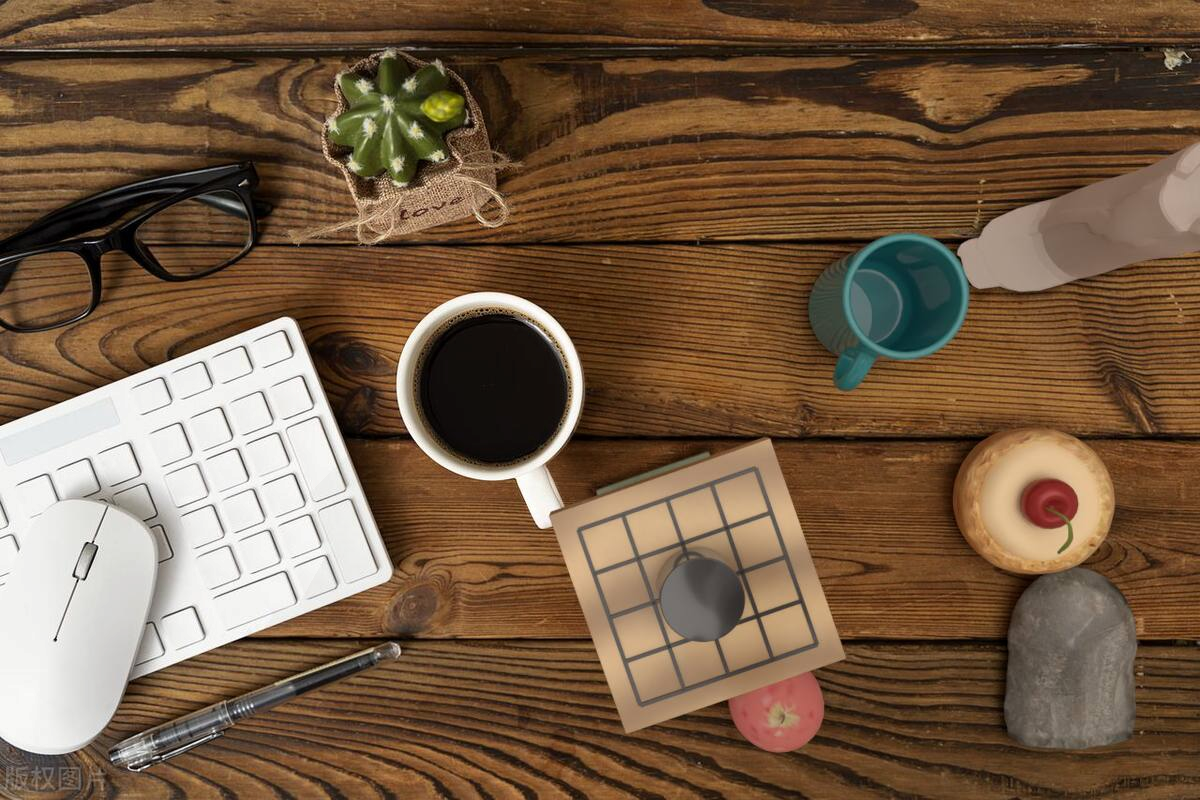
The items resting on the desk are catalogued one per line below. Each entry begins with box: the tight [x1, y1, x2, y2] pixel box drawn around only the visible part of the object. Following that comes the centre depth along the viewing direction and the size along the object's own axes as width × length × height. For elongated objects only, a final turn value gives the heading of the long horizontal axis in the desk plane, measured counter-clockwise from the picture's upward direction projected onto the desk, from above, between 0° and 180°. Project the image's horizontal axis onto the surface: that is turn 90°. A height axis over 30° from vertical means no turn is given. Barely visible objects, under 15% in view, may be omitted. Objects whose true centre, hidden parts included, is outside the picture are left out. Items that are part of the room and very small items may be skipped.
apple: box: [728, 670, 825, 754], centre depth 69 cm, size 7×7×8 cm
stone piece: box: [657, 547, 745, 642], centre depth 50 cm, size 5×5×3 cm
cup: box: [807, 232, 970, 393], centre depth 66 cm, size 9×12×11 cm
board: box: [548, 436, 847, 735], centre depth 62 cm, size 14×14×22 cm
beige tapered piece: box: [957, 140, 1200, 293], centre depth 62 cm, size 7×14×20 cm, turn 106°
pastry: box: [952, 427, 1116, 575], centre depth 68 cm, size 12×12×9 cm
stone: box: [1003, 566, 1138, 751], centre depth 71 cm, size 11×4×15 cm
